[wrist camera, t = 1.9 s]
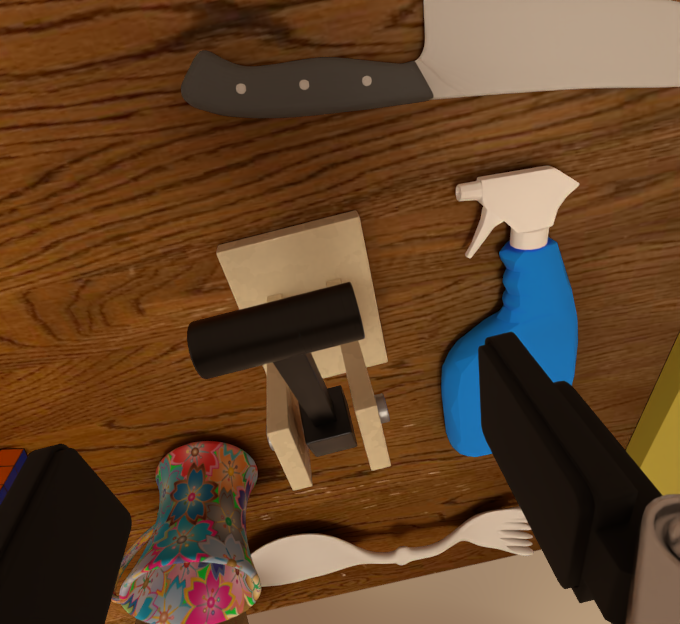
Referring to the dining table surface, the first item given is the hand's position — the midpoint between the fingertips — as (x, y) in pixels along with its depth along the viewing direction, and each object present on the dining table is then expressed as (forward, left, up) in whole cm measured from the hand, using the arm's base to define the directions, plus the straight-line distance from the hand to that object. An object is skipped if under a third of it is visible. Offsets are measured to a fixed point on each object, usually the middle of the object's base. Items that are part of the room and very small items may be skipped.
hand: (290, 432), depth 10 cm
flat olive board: (+33, +34, -19) cm, 51 cm away
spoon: (+40, +1, -19) cm, 45 cm away
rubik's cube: (+17, -28, -19) cm, 38 cm away
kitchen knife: (-4, +12, -19) cm, 23 cm away
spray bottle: (+15, +14, -19) cm, 28 cm away
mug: (+23, -14, -19) cm, 33 cm away
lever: (+4, 0, -7) cm, 8 cm away
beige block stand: (+9, 0, -19) cm, 21 cm away
